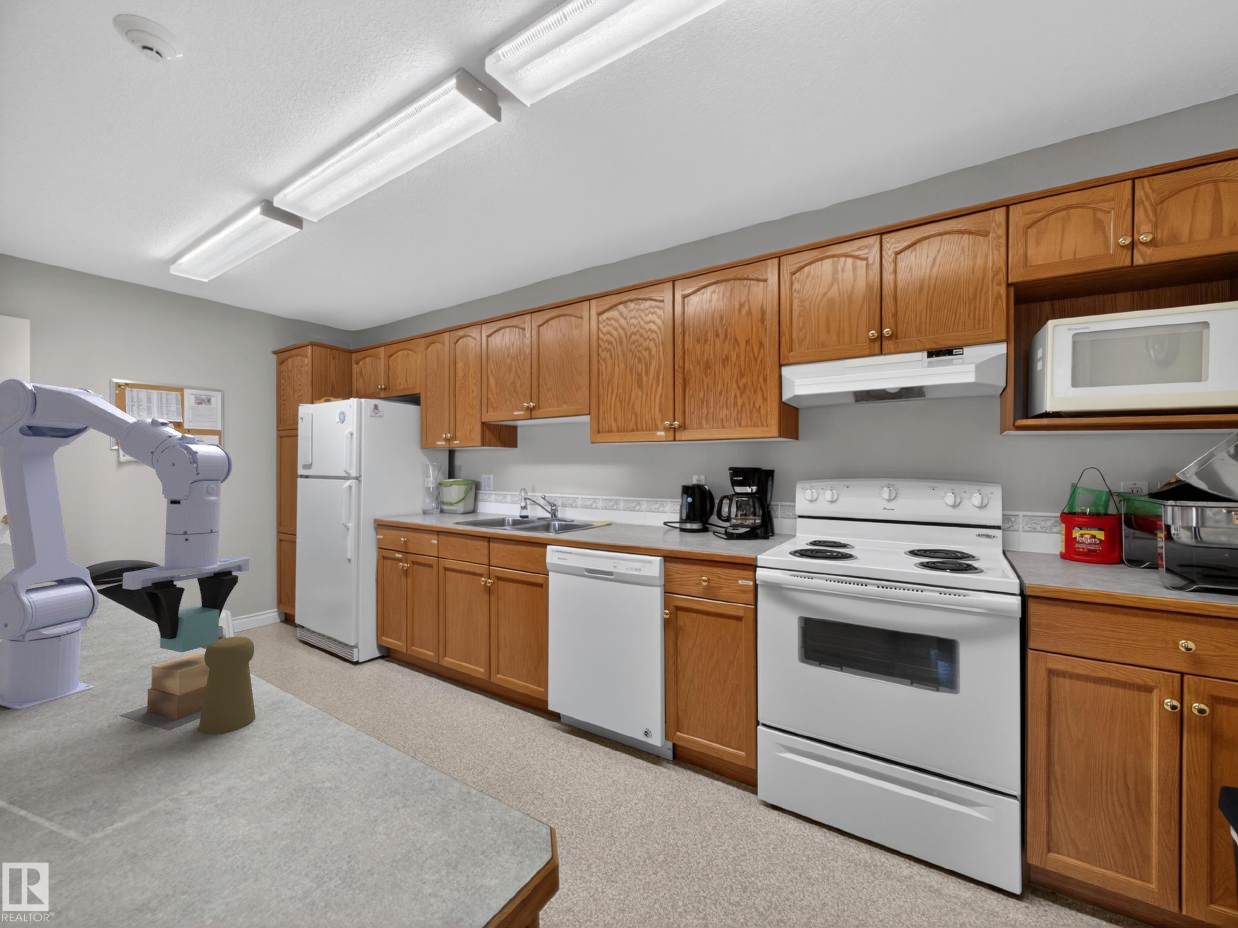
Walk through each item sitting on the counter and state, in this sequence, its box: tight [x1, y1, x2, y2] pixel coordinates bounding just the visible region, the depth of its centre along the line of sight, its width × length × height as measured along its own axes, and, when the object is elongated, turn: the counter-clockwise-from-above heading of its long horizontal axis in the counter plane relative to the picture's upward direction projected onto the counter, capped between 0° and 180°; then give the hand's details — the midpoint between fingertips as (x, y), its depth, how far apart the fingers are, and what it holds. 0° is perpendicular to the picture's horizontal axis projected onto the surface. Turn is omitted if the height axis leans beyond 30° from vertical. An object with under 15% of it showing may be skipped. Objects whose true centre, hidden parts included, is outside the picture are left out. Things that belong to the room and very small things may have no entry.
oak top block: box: [150, 652, 210, 695], centre depth 73 cm, size 6×6×3 cm
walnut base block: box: [146, 686, 206, 720], centre depth 73 cm, size 6×6×3 cm
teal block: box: [159, 606, 220, 653], centre depth 73 cm, size 4×4×4 cm
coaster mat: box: [119, 705, 202, 731], centre depth 73 cm, size 10×10×1 cm
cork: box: [197, 636, 256, 735], centre depth 69 cm, size 6×6×11 cm
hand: (189, 632), depth 73 cm, fingers closed on teal block, 4 cm apart
